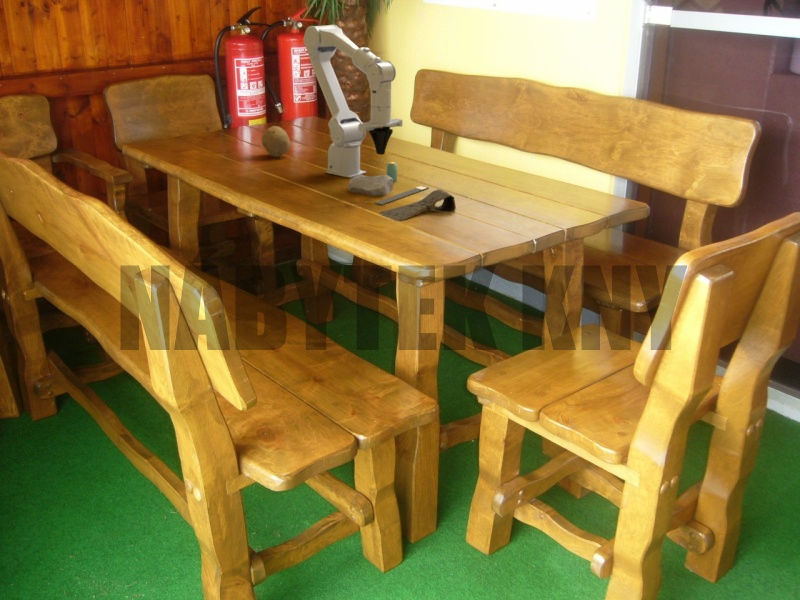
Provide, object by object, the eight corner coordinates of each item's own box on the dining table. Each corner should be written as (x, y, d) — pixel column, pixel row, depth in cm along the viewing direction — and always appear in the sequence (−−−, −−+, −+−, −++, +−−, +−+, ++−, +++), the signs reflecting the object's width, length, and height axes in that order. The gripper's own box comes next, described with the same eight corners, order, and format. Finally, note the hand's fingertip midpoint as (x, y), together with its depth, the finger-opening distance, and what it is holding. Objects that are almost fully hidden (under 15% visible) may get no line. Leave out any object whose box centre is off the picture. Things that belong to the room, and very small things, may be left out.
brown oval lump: (260, 154, 271) (259, 123, 267) (287, 153, 273) (286, 122, 269) (264, 160, 263) (263, 129, 259) (292, 159, 265) (291, 128, 261)
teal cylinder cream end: (384, 181, 242) (384, 163, 240) (390, 179, 245) (390, 161, 242) (392, 182, 241) (393, 164, 239) (398, 180, 243) (399, 162, 241)
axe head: (390, 217, 204) (372, 206, 212) (393, 235, 207) (375, 224, 215) (461, 195, 212) (441, 185, 220) (462, 213, 214) (443, 203, 222)
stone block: (386, 203, 228) (395, 187, 236) (385, 187, 225) (394, 172, 233) (345, 201, 231) (355, 185, 239) (344, 185, 228) (353, 170, 236)
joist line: (374, 203, 220) (374, 202, 220) (421, 187, 237) (421, 185, 237) (382, 205, 219) (382, 203, 219) (428, 188, 236) (428, 187, 235)
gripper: (369, 110, 225) (369, 159, 230) (409, 105, 234) (408, 153, 239) (353, 107, 230) (354, 155, 235) (393, 102, 239) (393, 148, 244)
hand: (380, 153), depth 237 cm, fingers closed
